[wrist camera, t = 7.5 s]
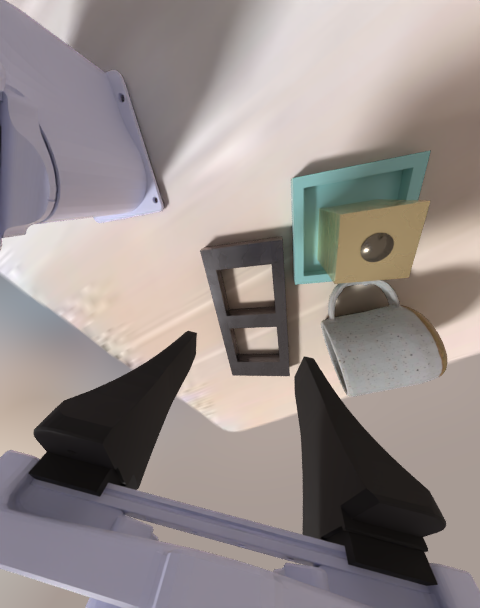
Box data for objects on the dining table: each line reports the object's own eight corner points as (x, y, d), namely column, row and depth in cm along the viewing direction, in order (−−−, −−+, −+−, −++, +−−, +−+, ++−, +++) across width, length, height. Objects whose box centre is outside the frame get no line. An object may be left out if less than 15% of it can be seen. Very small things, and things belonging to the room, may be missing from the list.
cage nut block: (317, 259, 18) (334, 284, 13) (319, 208, 16) (340, 214, 11) (368, 253, 17) (409, 278, 12) (377, 199, 15) (431, 200, 10)
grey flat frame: (204, 247, 20) (200, 250, 19) (281, 236, 18) (282, 239, 17) (234, 367, 28) (232, 375, 27) (288, 367, 27) (289, 376, 25)
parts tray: (290, 179, 16) (292, 178, 14) (415, 154, 14) (430, 150, 13) (293, 278, 20) (295, 284, 19) (389, 269, 18) (398, 275, 17)
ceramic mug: (403, 342, 22) (459, 403, 15) (329, 356, 25) (350, 414, 18) (394, 259, 18) (466, 294, 11) (307, 287, 21) (324, 328, 14)
